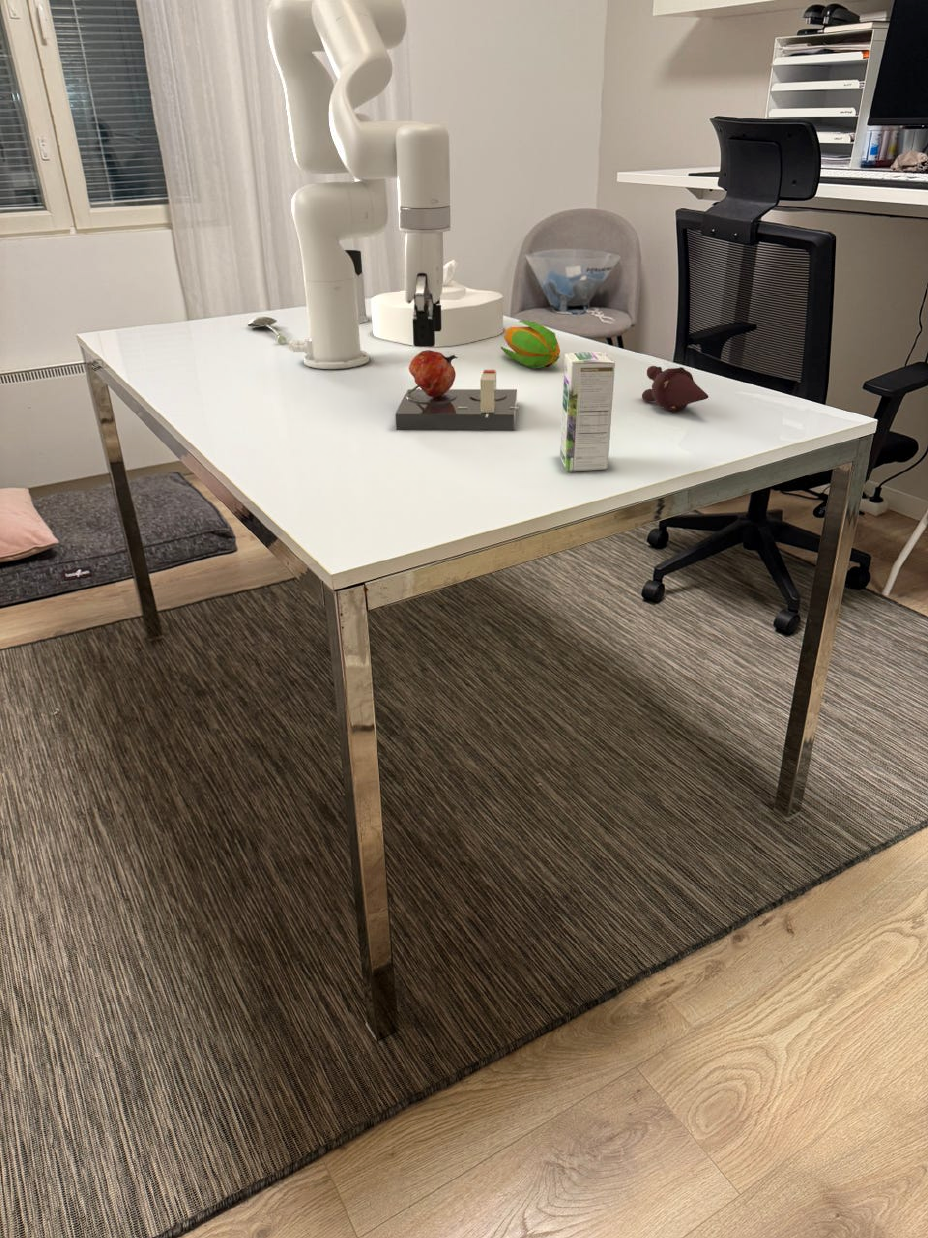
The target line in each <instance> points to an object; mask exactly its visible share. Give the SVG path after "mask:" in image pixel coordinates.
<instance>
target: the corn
mask: <svg viewBox="0 0 928 1238" xmlns="http://www.w3.org/2000/svg"><path fill="white" fill-rule="evenodd" d="M518 322H519V323H522V324H523V325H525V326H510V327H509V328H507V329H506V330H505V331H504V336H503V337H504V340H505V342H506V344H507V345H508V347H509V348H510V349H511V350H510V349H507V348H505V347H503V346H500V350H501V351H503V353H505V354H506V355H507V357H510V358H511V359H512V360H514V361H515V362H517V363H519V364H521V365H522V366H525V367H527V368H530V369H532V370H536V369H540V368H542V367H543V368H549V367H551V366H552V365H554V364H555V363H557V362H558V360H559V358H561V357H560V353H561V349H560V345H559V341H558V338H557V337H556V333H555V332H553V330H550V329H549V328H547V326H544V325H543V324H540V323H538V322H534V321H529V320H522V319H521V320H519V321H518ZM512 350H513V351H512Z"/></svg>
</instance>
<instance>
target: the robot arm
mask: <svg viewBox="0 0 928 1238" xmlns="http://www.w3.org/2000/svg"><path fill="white" fill-rule="evenodd" d="M266 16H267V17H266V18H267V20H266V24H267V34H268V35H267V36H268V40H269V46H270V49H271V52H272V56H273V59H274V61H275V64H276V66H277V69H278V71H279V74H280V78H281V80H282V84H283V89H284V94H285V103H286V110H287V118H288V126H289V134H290V142H291V148H292V153H293V159H294V161H295V164H296V166H297V168H298V169H299V170H300V172H303V173H305V174H309V175H337V174H351V175H352V177H353V179H354V181H353V180H352V181H341V182H340V181H330V182H329V181H327V182H316V183H315V182H314V183H309V184H306V185H304V186H301V187H300V188H299V189H296V191H295V192H294V194H293V196H292V198H291V205H290V206H291V207H290V208H291V214H292V220H293V224H294V227H295V232H296V236H297V239H298V244H299V249H300V256H301V265H302V274H303V284H304V293H305V302H306V313H307V322H308V334H309V337H308V338H305V340H289V341H288V348H289V351H290V352H292V353H304V354H306V355H305V356H304V357H303V364H304V365H305V366H307V367H309V368H313V369H318V370H319V369H321V370H341V369H342V370H343V369H351V368H356V367H360V366H362V365H365V364H367V363H368V362H369V361H370V355H369V354H370V353H368V352H366V351H365V350H362V349H361V338H360V325H359V324H360V323H359V322H358V309H357V295H356V282H355V270H354V265H353V262H352V260H351V258H350V256H349V255H348V254H347V252H346V251H345V250H346V249H345V248H344V247H343V246H342V245H341V243H340V241H342V240H343V241H344V240H351V239H360V238H369V237H371V238H372V237H376V236H378V235H379V236H380V235H381V234H382V233H383V232H384V231H385V229H386V227H387V223H388V217H389V208H388V194H387V182H386V179H394V178H395V179H396V178H397V200H398V201H397V203H398V225H399V231H400V232H402V233H405V238H404V240H405V241H404V242H405V243H404V290H405V301H406V302H407V303H411V301H412V300H413V299H414V310H413V344H414V347H416V348H417V347H421V348H423V347H425V348H434V347H433V346H434V345H435V331H441V305H440V296H441V294H442V289H443V265H444V235H443V234H444V233H447V232H450V231H451V175H450V174H451V172H450V170H451V169H450V165H451V164H450V162H451V161H450V160H451V159H450V134H449V132H448V129H447V128H446V127H445V126H444V125H442V124H437V123H427V122H425V121H422V120H374V119H372V118H371V117H370V116H369V115H367V114H364V113H359V112H355V109H358V108H359V107H361V106H363V105H365V104H366V103H368V102H369V101H371V100H373V99H375V98H376V97H378V96H379V95H380V94H381V93H382V92H383V91H384V90H385V89H386V88H387V87H388V85H389V84H390V82H391V79H392V76H393V69H394V67H393V62H392V59H391V57H390V55H389V52H388V51H389V50H393V49H395V48H397V47H398V46H400V44H401V43H402V42H403V40H404V38H405V35H406V30H407V14H406V9H405V6H404V3H403V1H402V0H271V1H270V2H269V5H268V9H267V15H266ZM313 52H315V53H316V52H319V53H320V52H322V53H326V55H327V57H328V59H329V62H330V65H331V66H332V69H333V71H334V73H335V74H334V75H336V78H337V80H336V83H334V80H333V78H332V76H331V74H330V73H329V71H328V70H327V68H326V67H325V65H324V64H323V63H322V61H321V60H320V59H319V58H318V56H316V54H314V53H313ZM436 304H438V305H436Z"/></svg>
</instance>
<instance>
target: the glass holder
mask: <svg viewBox="0 0 928 1238" xmlns="http://www.w3.org/2000/svg"><path fill="white" fill-rule="evenodd" d="M344 250H345V251H346V252H347V254H348V255H349V256H350V258H351V260H352V262H353V265H354V270H355V282H356V295H357V309H358V322H359V324H364V323H367V322H369V317H368V316H367V310H366V294H365V279H364V273H363V261H362V251H361V250H357V249H344Z"/></svg>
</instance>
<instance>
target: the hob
mask: <svg viewBox="0 0 928 1238" xmlns="http://www.w3.org/2000/svg"><path fill="white" fill-rule="evenodd" d="M412 389H413V388H412ZM412 389H411V388H410V389H409V388H407V390H406V392H405V394H404V396H403V398H402V400H401V402H400V404H399V406H398V407H397V409H396V412H395V429H396V430H397V431H399V430H400V431H402V430H403V431H407V430H408V431H413V430H414V431H515V425H516V417H517V410H519V409H520V406H518V389H516V388H515V389H514V388H513V389H511V388H509V389H506V388H504V389H502V388H498V389H497V388H496V390H499V391H503V392H505V393H506V394H507V397H506V398H504V399H501V400H496V407H495V411H494V413H481V401H479V400H474V399H471V398H470V397H469V395H470V393H472V392H475V391H479V390H481V388H479V389H478V388H477V389H476V388H473V389H471V388H469V389H468V388H467V389H464V388H459V389H457V388H450V389H449V390H450V391H453V392H455V393H456V394H457V397H456V398H455V399H453V400H451V401H448V402H443V403H434V404H425V403H416V402H412V401H410V400H408V399H407V395H408V392H410V391H411V390H412ZM418 390H422V389H421V388H417V389H416V390H414V391H418ZM414 391H412V392H414Z"/></svg>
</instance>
